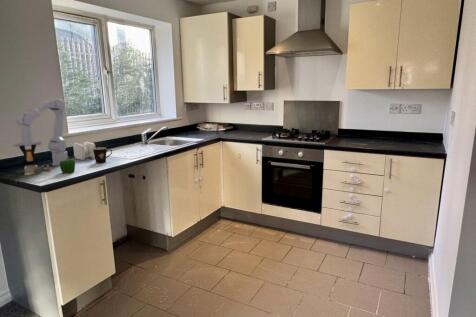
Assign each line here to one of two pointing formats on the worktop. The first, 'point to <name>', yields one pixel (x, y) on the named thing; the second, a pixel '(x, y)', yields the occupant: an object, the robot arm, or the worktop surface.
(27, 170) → the end holder
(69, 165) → the bell pepper
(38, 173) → the board
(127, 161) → the worktop surface
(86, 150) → the white lumpy block
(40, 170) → the clip
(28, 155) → the connector plug
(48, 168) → the clip
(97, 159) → the coffee mug
